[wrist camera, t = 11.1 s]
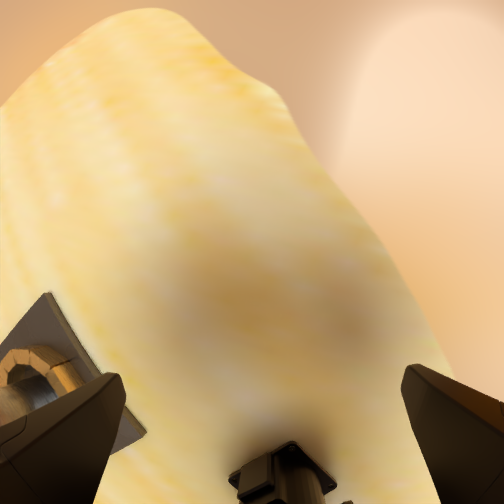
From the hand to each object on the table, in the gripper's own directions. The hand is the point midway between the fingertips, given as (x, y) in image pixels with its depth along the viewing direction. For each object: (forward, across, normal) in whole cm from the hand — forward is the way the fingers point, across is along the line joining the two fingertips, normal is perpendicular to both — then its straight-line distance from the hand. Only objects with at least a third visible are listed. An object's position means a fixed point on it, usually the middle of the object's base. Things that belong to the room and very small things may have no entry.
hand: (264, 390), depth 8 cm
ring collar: (+10, +18, +11) cm, 23 cm away
